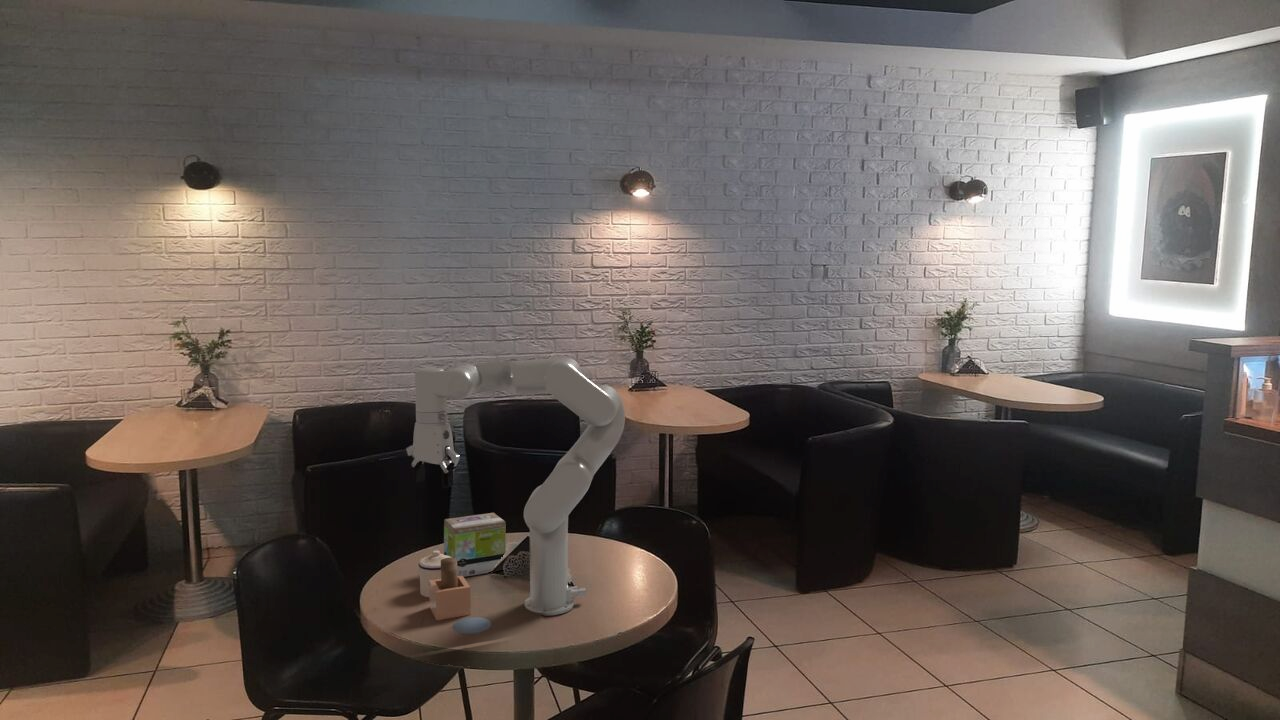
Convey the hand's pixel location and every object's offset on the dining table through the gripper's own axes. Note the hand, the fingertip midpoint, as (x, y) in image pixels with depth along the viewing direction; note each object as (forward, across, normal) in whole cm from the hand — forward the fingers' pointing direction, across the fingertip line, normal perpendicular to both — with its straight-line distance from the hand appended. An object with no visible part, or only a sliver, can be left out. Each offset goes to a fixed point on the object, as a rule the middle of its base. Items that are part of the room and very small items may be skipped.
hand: (433, 484), depth 219 cm
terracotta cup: (+31, -7, +2) cm, 32 cm away
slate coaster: (+32, -17, +6) cm, 36 cm away
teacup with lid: (+32, +6, -6) cm, 33 cm away
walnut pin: (+31, -7, +2) cm, 31 cm away
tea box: (+32, +9, -24) cm, 40 cm away
